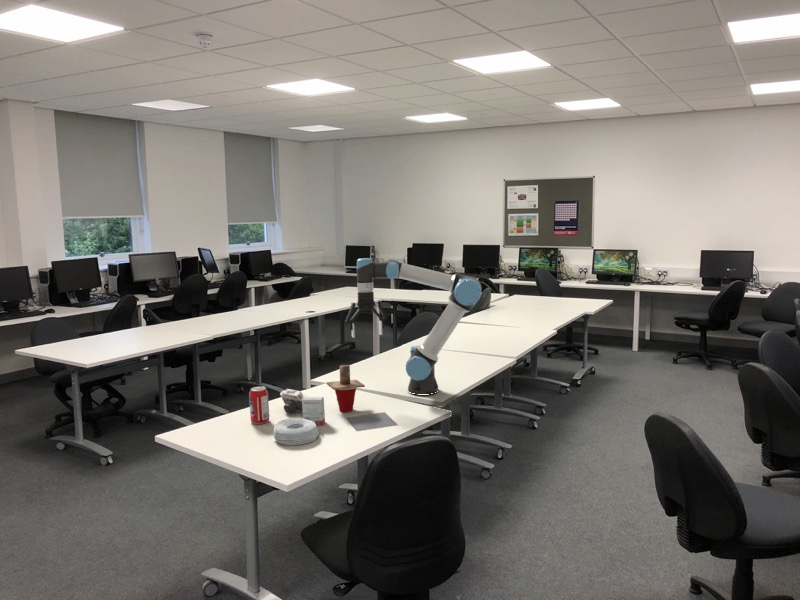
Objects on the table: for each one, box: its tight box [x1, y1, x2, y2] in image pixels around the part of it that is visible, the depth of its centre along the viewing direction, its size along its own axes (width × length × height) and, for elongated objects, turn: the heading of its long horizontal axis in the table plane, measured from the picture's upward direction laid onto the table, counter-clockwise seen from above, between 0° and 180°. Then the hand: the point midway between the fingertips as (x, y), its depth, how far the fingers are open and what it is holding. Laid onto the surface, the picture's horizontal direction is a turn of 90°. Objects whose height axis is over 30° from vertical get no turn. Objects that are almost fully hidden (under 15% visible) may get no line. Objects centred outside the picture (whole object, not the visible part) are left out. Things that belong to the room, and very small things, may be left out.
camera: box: [279, 388, 308, 415], centre depth 271 cm, size 9×16×10 cm, turn 51°
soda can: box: [248, 386, 270, 425], centre depth 258 cm, size 8×8×15 cm
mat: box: [345, 411, 399, 432], centre depth 254 cm, size 18×18×1 cm
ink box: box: [302, 396, 326, 427], centre depth 253 cm, size 9×5×12 cm, turn 84°
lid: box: [326, 364, 365, 391], centre depth 268 cm, size 14×14×9 cm
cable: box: [273, 417, 319, 446], centre depth 238 cm, size 18×18×6 cm
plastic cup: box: [334, 388, 357, 413], centre depth 269 cm, size 11×11×12 cm
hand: (367, 335), depth 284 cm, fingers open, 13 cm apart
